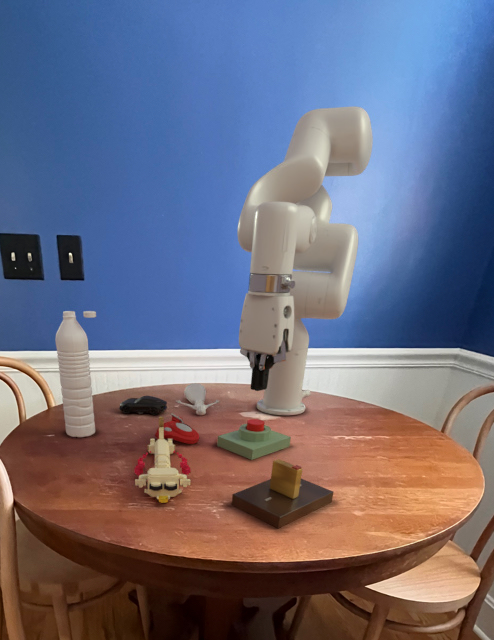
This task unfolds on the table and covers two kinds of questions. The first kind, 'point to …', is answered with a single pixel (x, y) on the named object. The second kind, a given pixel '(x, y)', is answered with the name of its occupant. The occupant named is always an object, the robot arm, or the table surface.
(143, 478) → the blocky toy figure
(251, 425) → the button
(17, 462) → the table surface
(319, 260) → the robot arm
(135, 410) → the toy car
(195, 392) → the woman figurine
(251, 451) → the green button base
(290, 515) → the lock plate
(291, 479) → the lock knob
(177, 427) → the tracker holder
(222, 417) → the table surface
